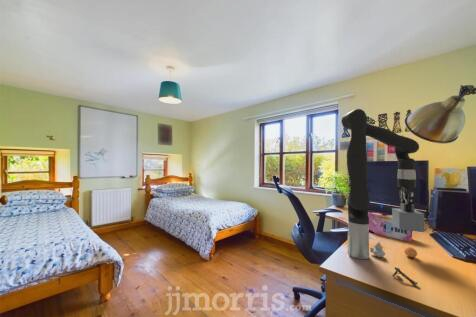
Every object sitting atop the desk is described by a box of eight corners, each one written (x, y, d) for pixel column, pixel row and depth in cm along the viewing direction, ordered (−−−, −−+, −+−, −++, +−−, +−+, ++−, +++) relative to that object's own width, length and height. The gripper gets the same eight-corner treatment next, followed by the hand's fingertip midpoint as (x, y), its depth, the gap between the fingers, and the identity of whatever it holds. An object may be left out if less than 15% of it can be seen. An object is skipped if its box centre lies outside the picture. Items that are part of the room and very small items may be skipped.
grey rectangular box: (399, 229, 104) (399, 205, 105) (392, 224, 114) (392, 201, 114) (424, 232, 101) (424, 206, 101) (414, 226, 111) (414, 203, 111)
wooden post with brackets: (391, 273, 88) (396, 265, 86) (412, 290, 81) (418, 282, 80) (389, 274, 87) (394, 266, 85) (410, 291, 80) (416, 283, 79)
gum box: (415, 239, 130) (415, 218, 131) (412, 242, 125) (411, 220, 126) (372, 230, 149) (372, 211, 149) (368, 232, 144) (368, 212, 144)
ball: (402, 249, 109) (405, 258, 106) (403, 244, 107) (406, 253, 103) (414, 251, 107) (417, 260, 104) (416, 245, 104) (418, 255, 101)
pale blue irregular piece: (383, 260, 102) (383, 243, 102) (368, 255, 106) (368, 240, 106) (386, 256, 105) (386, 241, 105) (371, 252, 110) (371, 237, 110)
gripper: (392, 177, 116) (393, 207, 116) (403, 178, 103) (403, 213, 102) (409, 177, 114) (409, 208, 113) (422, 179, 100) (422, 214, 100)
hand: (406, 210), depth 108 cm, fingers closed on grey rectangular box, 4 cm apart
